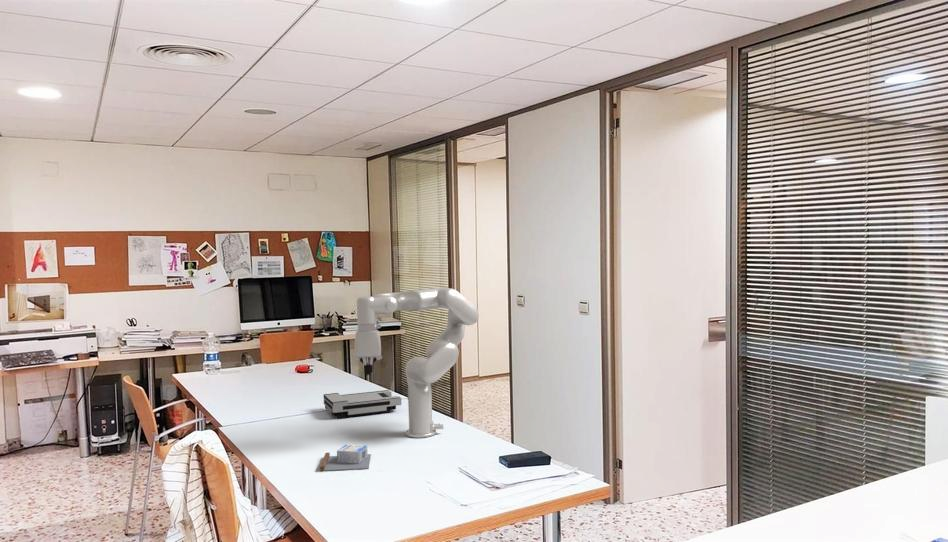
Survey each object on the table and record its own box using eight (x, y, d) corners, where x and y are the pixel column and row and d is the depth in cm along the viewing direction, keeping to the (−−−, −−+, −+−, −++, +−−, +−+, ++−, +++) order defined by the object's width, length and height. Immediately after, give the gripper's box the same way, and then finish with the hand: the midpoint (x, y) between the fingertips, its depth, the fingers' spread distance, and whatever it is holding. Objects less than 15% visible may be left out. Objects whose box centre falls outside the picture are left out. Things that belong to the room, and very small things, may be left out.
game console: (401, 412, 317) (401, 395, 317) (333, 421, 304) (333, 402, 304) (388, 404, 336) (388, 387, 336) (324, 411, 323) (323, 394, 323)
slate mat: (370, 455, 250) (370, 454, 250) (368, 469, 234) (368, 467, 234) (326, 457, 249) (326, 456, 249) (321, 471, 233) (321, 470, 233)
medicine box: (359, 451, 239) (336, 450, 240) (359, 464, 239) (336, 462, 241) (367, 445, 246) (345, 444, 248) (367, 457, 246) (345, 456, 248)
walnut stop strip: (329, 457, 249) (329, 452, 249) (324, 471, 233) (324, 466, 233) (325, 457, 249) (325, 452, 248) (320, 471, 233) (320, 466, 233)
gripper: (386, 326, 269) (388, 372, 270) (348, 327, 268) (350, 373, 268) (386, 328, 262) (387, 375, 262) (347, 329, 260) (348, 377, 261)
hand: (368, 374), depth 265 cm, fingers closed
